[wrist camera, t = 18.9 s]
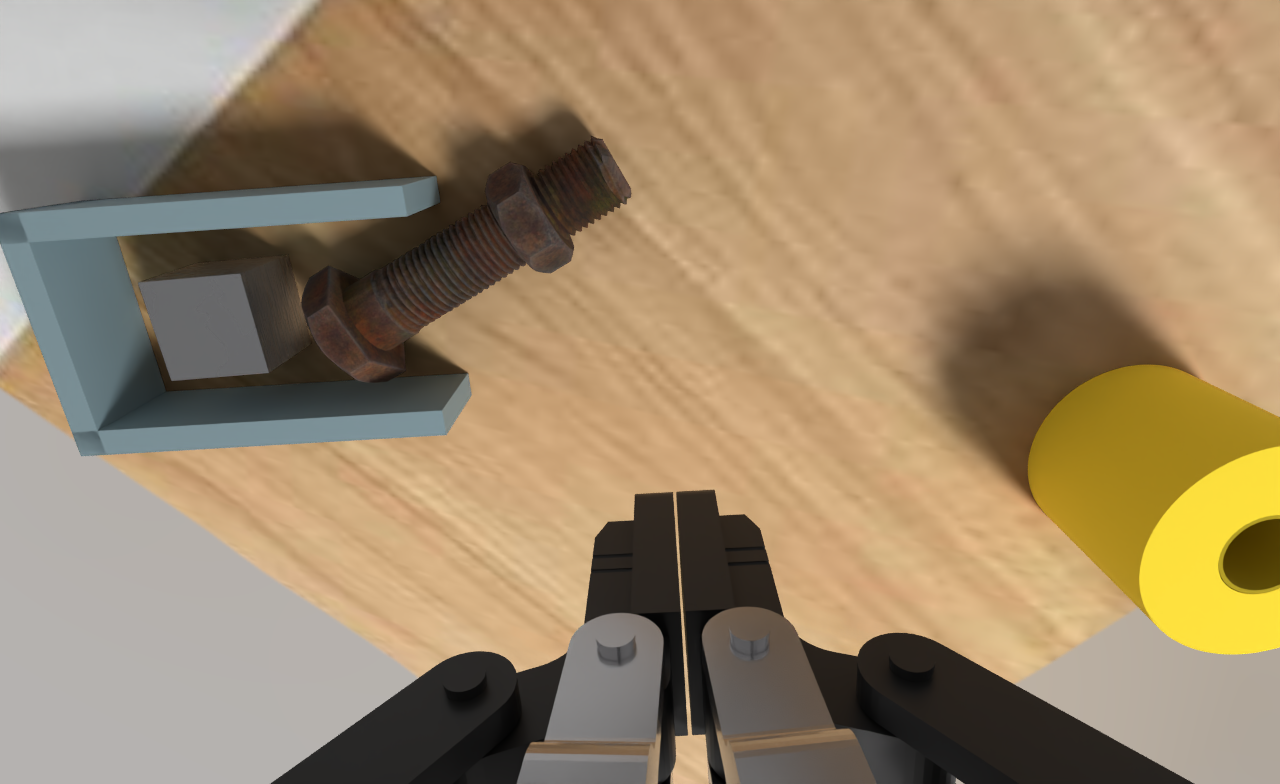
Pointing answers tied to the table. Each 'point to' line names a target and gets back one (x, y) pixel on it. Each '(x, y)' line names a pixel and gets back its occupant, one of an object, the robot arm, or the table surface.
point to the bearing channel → (122, 353)
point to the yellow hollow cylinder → (1171, 500)
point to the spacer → (226, 317)
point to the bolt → (461, 260)
